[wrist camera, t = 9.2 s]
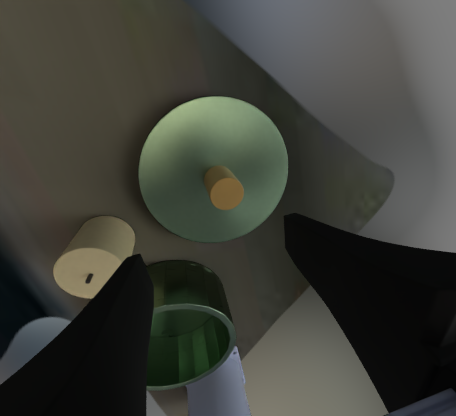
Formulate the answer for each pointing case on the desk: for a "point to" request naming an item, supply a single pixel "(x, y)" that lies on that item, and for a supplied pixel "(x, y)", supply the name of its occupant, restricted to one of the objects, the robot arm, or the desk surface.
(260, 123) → the tin lid
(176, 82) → the desk surface
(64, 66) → the desk surface
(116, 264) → the candle
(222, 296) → the tin
